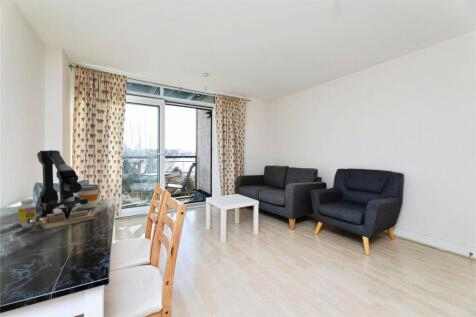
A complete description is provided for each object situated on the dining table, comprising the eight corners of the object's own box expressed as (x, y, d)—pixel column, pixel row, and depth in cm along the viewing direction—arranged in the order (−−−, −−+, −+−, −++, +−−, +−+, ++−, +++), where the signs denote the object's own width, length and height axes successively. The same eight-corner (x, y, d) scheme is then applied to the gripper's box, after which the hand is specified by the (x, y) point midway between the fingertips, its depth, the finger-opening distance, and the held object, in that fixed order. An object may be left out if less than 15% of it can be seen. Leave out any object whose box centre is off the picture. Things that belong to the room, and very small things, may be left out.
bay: (39, 223, 114) (39, 218, 114) (87, 214, 131) (87, 209, 131) (44, 229, 105) (44, 223, 105) (94, 218, 123) (94, 213, 122)
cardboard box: (47, 223, 113) (46, 214, 113) (61, 220, 118) (61, 212, 118) (49, 226, 110) (49, 216, 109) (64, 223, 114) (64, 214, 114)
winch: (21, 229, 105) (21, 216, 105) (33, 226, 109) (33, 214, 109) (23, 232, 102) (22, 218, 101) (35, 229, 105) (35, 216, 105)
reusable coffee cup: (102, 206, 150) (102, 185, 149) (82, 210, 139) (81, 188, 139) (94, 203, 156) (93, 183, 156) (74, 207, 146) (73, 186, 145)
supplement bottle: (24, 225, 110) (24, 201, 110) (15, 224, 111) (14, 201, 111) (39, 221, 117) (38, 198, 116) (30, 220, 118) (29, 198, 117)
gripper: (47, 196, 105) (48, 226, 105) (90, 190, 119) (91, 217, 120) (42, 193, 112) (43, 221, 112) (84, 188, 126) (85, 213, 127)
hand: (67, 218), depth 118 cm, fingers closed
